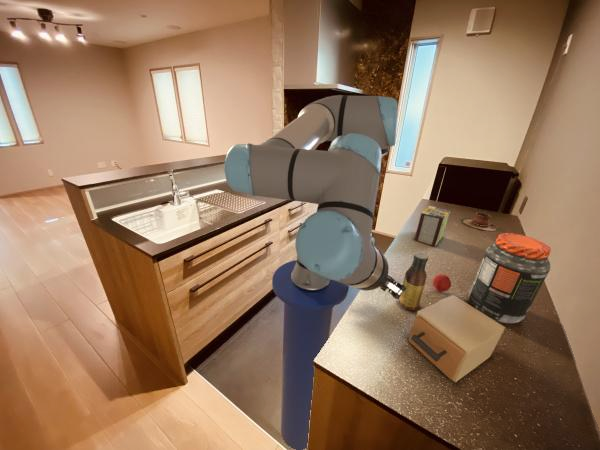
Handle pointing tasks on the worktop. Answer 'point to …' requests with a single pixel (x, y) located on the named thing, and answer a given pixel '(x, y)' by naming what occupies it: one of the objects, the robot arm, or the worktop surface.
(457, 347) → the drawer
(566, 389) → the worktop surface
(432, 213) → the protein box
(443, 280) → the onion
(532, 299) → the supplement tub
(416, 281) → the sauce bottle
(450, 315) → the cabinet
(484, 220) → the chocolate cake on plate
